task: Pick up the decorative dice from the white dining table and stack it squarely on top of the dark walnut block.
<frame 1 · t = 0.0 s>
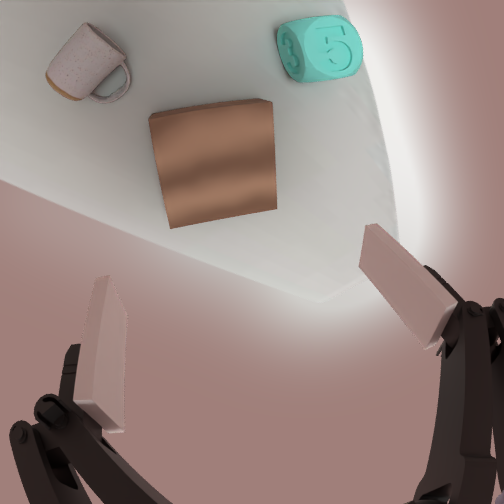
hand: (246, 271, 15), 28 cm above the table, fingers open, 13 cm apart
walnut block: (211, 153, 39), on the table
ceramic mug: (99, 67, 28), on the table
decorative dice: (305, 49, 33), on the table
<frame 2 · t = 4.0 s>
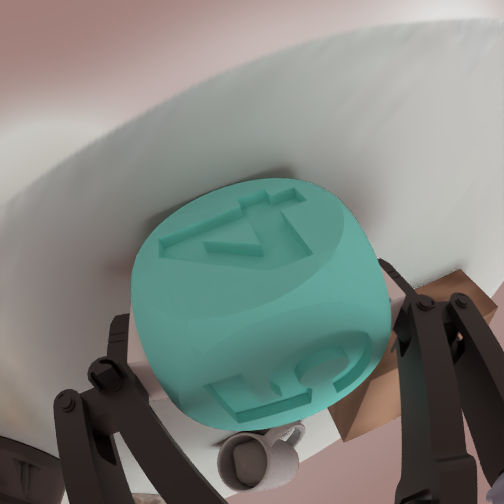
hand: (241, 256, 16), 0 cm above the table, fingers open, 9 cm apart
walnut block: (390, 341, 26), on the table
ceramic mug: (259, 433, 31), on the table
decorative dice: (239, 252, 16), on the table
ceramic cottage: (147, 498, 47), on the table
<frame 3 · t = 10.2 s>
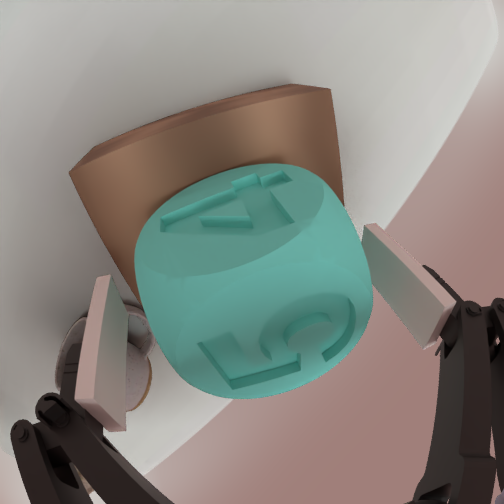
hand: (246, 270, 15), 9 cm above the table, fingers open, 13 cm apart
walnut block: (218, 197, 22), on the table, touching decorative dice
ceramic mug: (110, 331, 26), on the table
decorative dice: (235, 234, 17), point 5 cm above the table, touching walnut block
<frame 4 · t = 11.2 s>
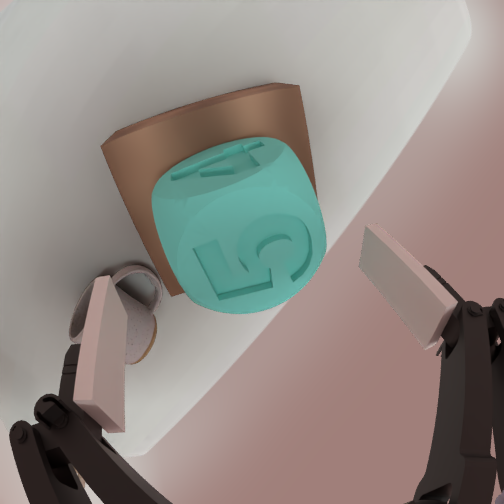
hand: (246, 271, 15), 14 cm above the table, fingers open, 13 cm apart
walnut block: (215, 174, 26), on the table, touching decorative dice
ceramic mug: (121, 292, 31), on the table
decorative dice: (227, 196, 22), point 5 cm above the table, touching walnut block
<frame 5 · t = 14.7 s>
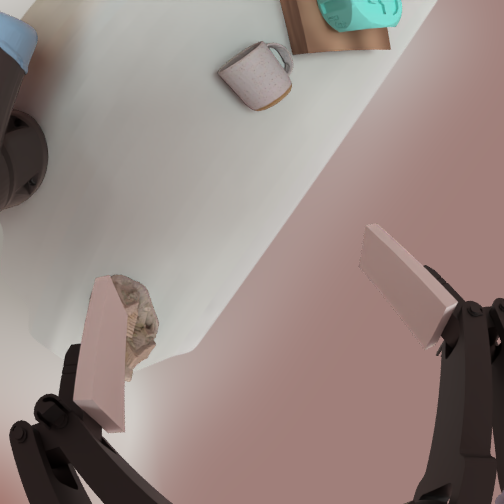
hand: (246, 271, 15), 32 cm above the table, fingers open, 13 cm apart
walnut block: (324, 11, 33), on the table, touching decorative dice
ceramic mug: (255, 70, 37), on the table
decorative dice: (342, 6, 28), point 5 cm above the table, touching walnut block
ceramic cottage: (127, 311, 54), on the table
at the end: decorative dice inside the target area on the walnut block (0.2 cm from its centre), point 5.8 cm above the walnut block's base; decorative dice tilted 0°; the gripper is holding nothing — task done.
